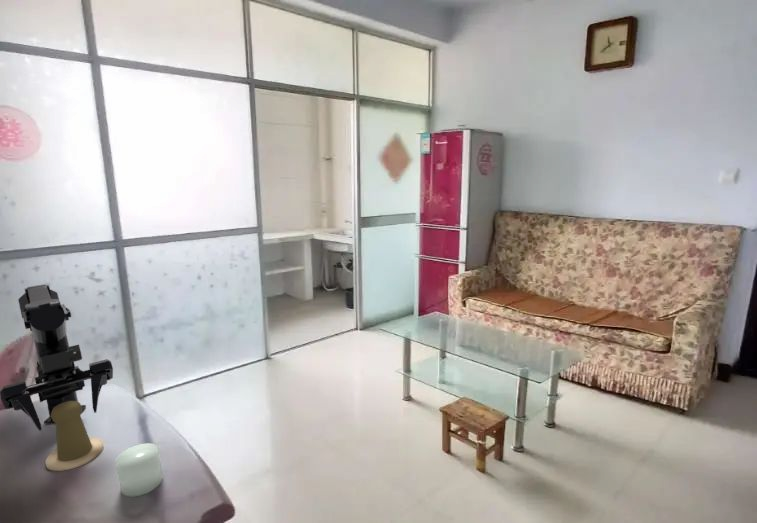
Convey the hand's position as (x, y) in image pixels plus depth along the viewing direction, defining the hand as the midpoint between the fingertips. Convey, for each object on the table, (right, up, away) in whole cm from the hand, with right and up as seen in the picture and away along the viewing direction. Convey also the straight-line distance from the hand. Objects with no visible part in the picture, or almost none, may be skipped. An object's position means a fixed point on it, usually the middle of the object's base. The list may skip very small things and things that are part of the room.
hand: (68, 420), depth 88 cm
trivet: (-1, -8, +3) cm, 9 cm away
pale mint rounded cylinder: (+18, -10, -6) cm, 21 cm away
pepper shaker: (-1, -8, +3) cm, 8 cm away
